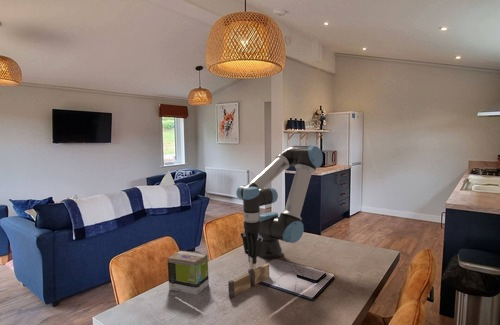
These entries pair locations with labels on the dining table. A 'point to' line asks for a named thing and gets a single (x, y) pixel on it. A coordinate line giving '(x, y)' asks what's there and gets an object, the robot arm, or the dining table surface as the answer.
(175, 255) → the tea box
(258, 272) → the swing panel
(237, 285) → the fixed fence panel
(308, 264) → the dining table surface
